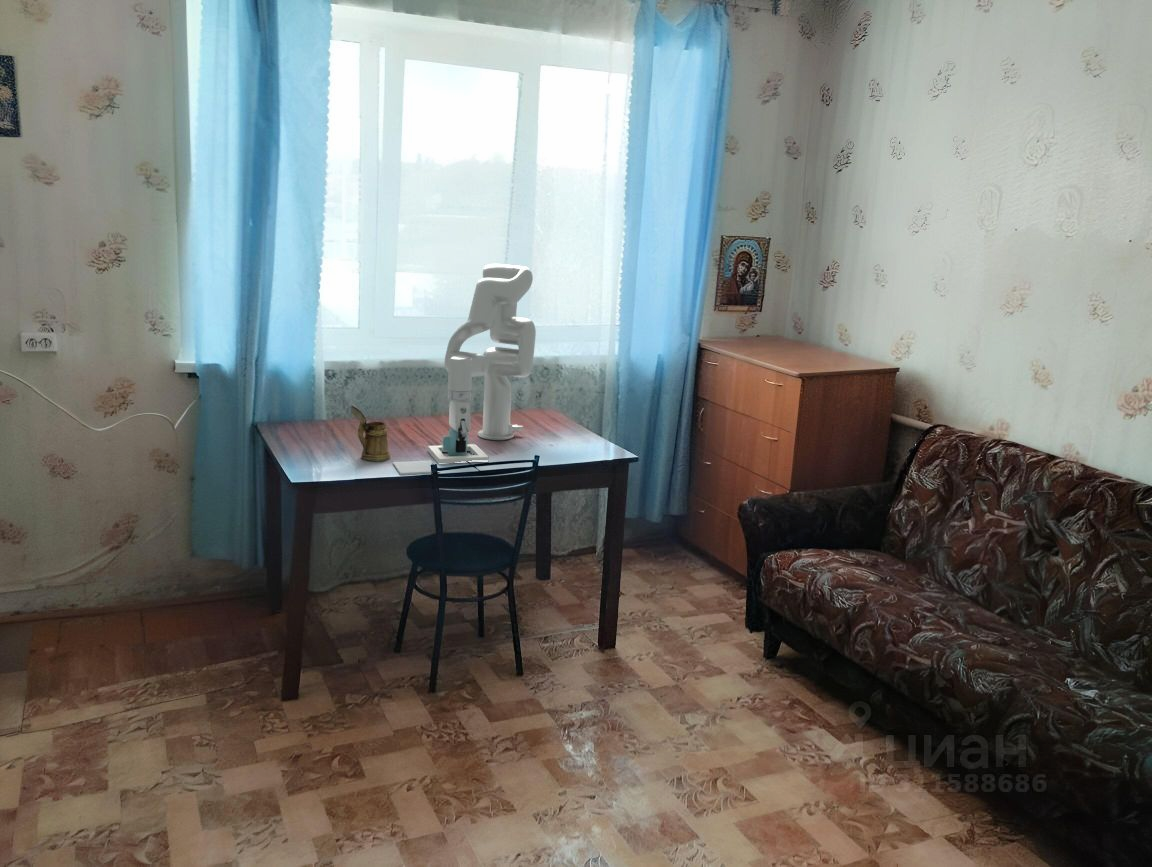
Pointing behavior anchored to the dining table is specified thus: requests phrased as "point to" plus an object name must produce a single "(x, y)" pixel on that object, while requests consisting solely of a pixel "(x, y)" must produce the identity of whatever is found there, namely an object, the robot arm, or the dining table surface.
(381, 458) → the wooden mug
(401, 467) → the tile
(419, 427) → the dining table surface
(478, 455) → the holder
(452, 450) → the jug
